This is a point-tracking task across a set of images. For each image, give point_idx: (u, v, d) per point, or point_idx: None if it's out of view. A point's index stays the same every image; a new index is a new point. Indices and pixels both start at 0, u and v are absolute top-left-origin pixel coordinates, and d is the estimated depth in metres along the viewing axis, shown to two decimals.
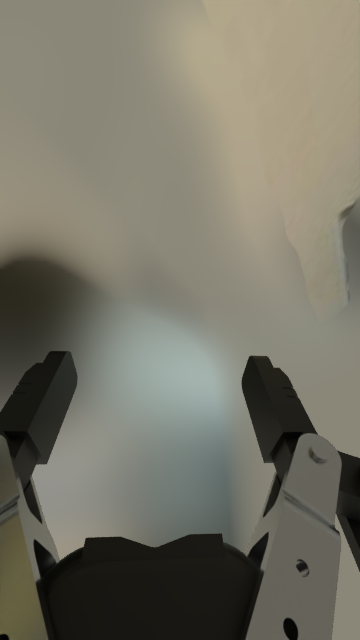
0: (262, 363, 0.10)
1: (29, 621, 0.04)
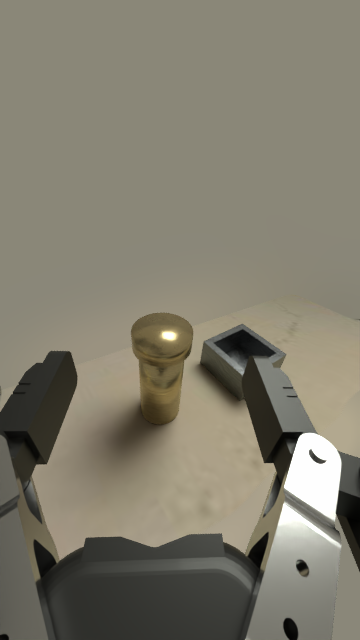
0: (262, 363, 0.10)
1: (29, 621, 0.04)
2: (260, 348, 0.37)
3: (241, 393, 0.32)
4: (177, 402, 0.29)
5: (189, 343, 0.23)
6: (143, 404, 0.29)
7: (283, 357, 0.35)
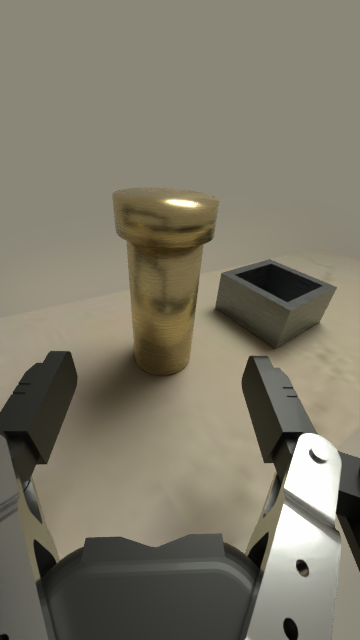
0: (262, 363, 0.10)
1: (29, 621, 0.04)
2: (297, 285, 0.28)
3: (278, 336, 0.23)
4: (189, 340, 0.19)
5: (214, 208, 0.13)
6: (138, 343, 0.19)
7: (333, 291, 0.25)
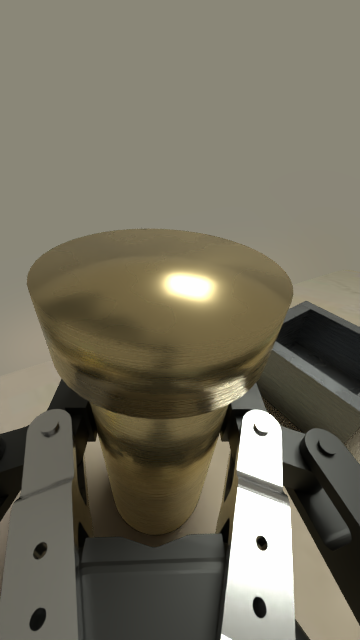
0: None
1: (63, 606, 0.04)
2: (351, 344, 0.19)
3: None
4: (203, 483, 0.11)
5: (287, 309, 0.05)
6: (114, 491, 0.11)
7: None
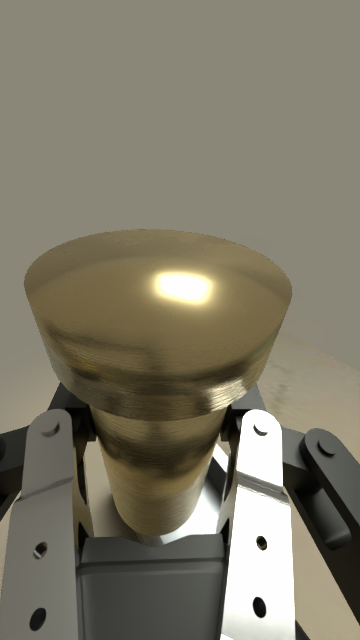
0: None
1: (64, 606, 0.04)
2: (217, 470, 0.21)
3: None
4: (202, 484, 0.11)
5: (286, 309, 0.05)
6: (113, 493, 0.11)
7: None
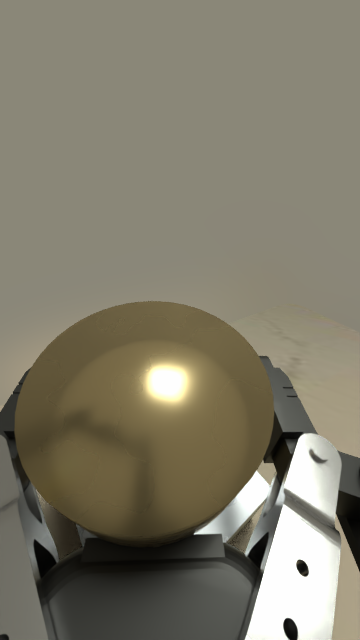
0: None
1: (28, 621, 0.04)
2: None
3: None
4: None
5: None
6: None
7: (265, 499, 0.12)
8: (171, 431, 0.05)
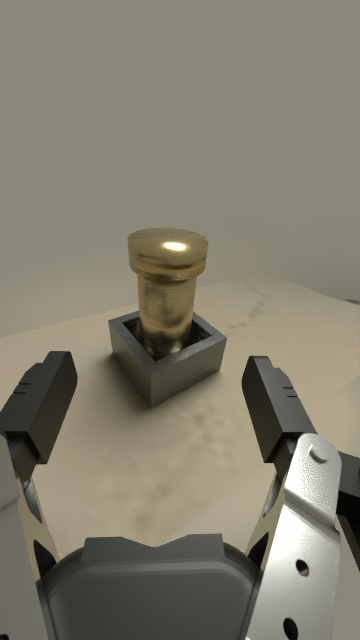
0: (262, 363, 0.10)
1: (29, 621, 0.04)
2: (195, 331, 0.26)
3: (150, 396, 0.21)
4: (186, 347, 0.24)
5: (204, 251, 0.18)
6: (145, 349, 0.23)
7: (222, 342, 0.23)
8: (175, 245, 0.17)
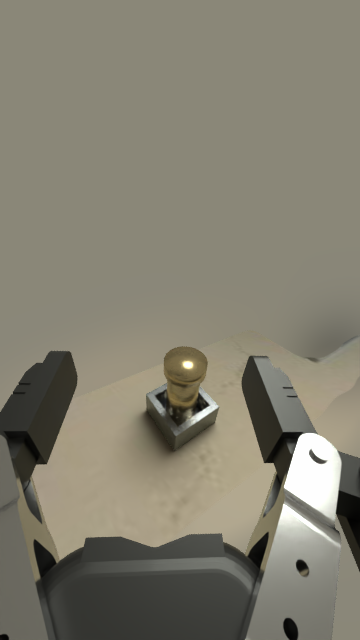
0: (262, 363, 0.10)
1: (28, 621, 0.04)
2: (199, 398, 0.41)
3: (174, 445, 0.36)
4: (194, 411, 0.39)
5: (205, 370, 0.33)
6: (169, 413, 0.38)
7: (216, 409, 0.39)
8: (190, 368, 0.33)
